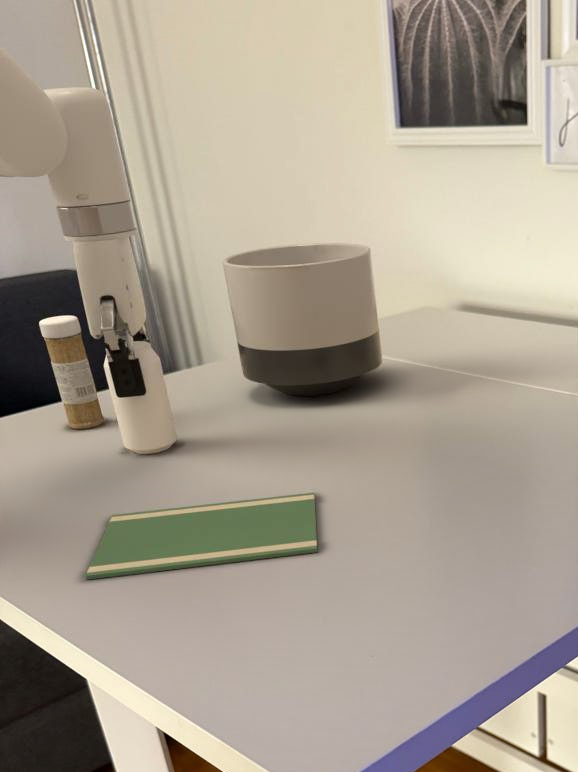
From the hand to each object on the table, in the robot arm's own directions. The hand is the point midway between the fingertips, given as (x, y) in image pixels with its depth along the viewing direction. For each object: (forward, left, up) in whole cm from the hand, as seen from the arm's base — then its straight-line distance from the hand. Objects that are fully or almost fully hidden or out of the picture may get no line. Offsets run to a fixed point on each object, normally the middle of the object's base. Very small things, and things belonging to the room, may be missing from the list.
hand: (137, 384), depth 108 cm
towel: (+9, -29, -8) cm, 31 cm away
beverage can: (0, 0, -8) cm, 8 cm away
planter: (+20, +20, -8) cm, 29 cm away
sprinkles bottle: (-10, +13, -8) cm, 18 cm away
